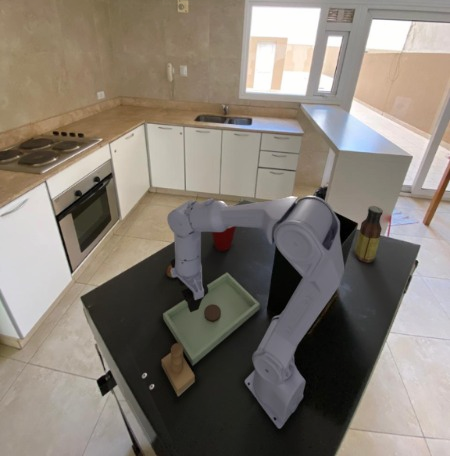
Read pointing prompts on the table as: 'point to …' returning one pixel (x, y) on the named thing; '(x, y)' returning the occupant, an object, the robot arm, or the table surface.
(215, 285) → the tray
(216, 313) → the grime patch
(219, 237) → the plastic cup
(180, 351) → the wooden stamp
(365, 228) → the sauce bottle
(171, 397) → the table surface
